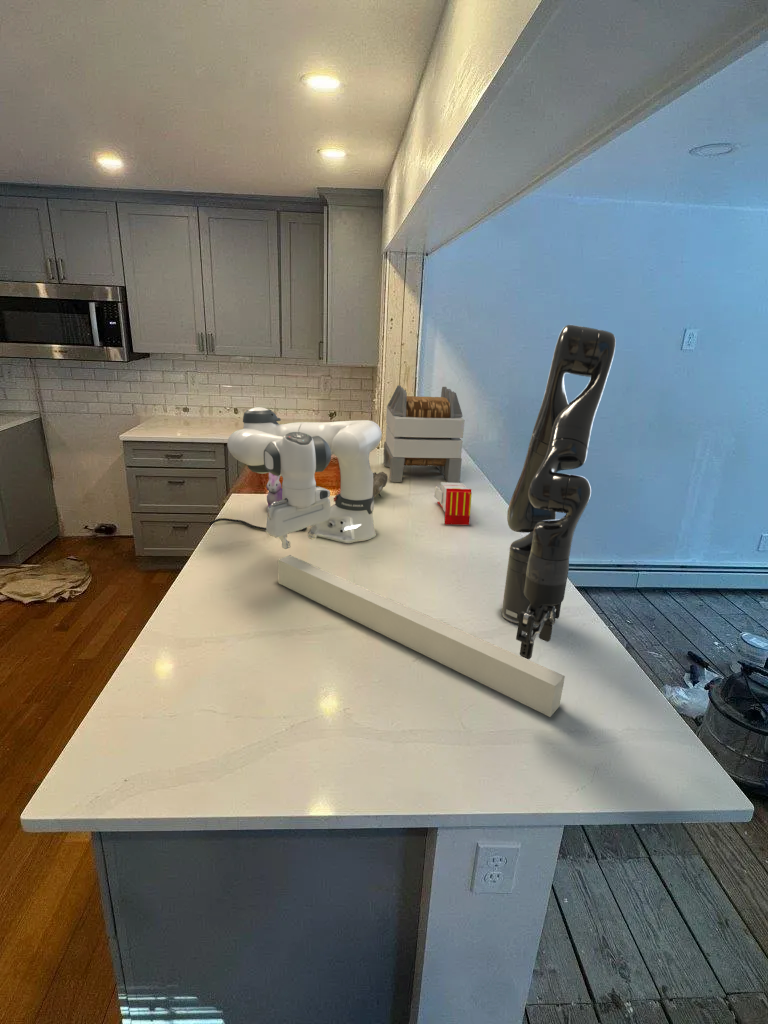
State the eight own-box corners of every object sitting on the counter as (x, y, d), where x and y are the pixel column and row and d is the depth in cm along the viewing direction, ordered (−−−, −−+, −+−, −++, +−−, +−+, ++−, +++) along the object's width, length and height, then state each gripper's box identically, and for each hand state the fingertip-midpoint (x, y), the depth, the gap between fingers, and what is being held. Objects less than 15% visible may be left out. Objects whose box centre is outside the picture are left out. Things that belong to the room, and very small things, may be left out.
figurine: (269, 514, 212) (268, 475, 207) (262, 505, 221) (260, 468, 216) (293, 511, 217) (293, 473, 212) (285, 503, 225) (284, 466, 220)
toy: (462, 478, 235) (476, 490, 206) (460, 509, 238) (473, 526, 208) (433, 477, 234) (442, 489, 205) (431, 509, 237) (440, 525, 208)
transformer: (382, 463, 289) (386, 382, 275) (445, 464, 293) (451, 384, 279) (390, 482, 257) (394, 392, 243) (460, 483, 261) (468, 394, 247)
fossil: (356, 478, 247) (383, 459, 242) (370, 494, 250) (397, 476, 245) (349, 499, 228) (378, 479, 223) (363, 516, 230) (393, 497, 225)
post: (278, 583, 161) (277, 559, 158) (290, 578, 164) (290, 554, 162) (550, 717, 112) (555, 686, 110) (559, 706, 115) (565, 675, 113)
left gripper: (276, 506, 140) (277, 557, 145) (334, 489, 155) (333, 536, 160) (260, 500, 144) (261, 550, 149) (318, 484, 159) (318, 530, 164)
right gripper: (549, 594, 100) (536, 671, 106) (580, 569, 111) (567, 641, 116) (510, 580, 105) (501, 655, 110) (544, 558, 115) (533, 627, 121)
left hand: (299, 543), depth 155 cm, fingers open, 8 cm apart
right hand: (535, 648), depth 113 cm, fingers open, 8 cm apart
